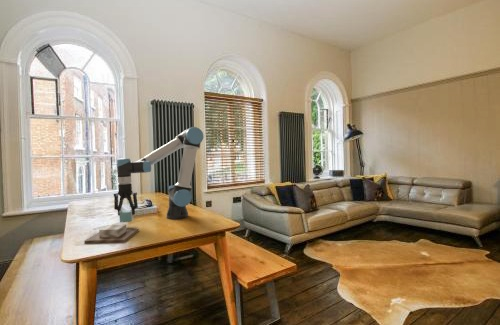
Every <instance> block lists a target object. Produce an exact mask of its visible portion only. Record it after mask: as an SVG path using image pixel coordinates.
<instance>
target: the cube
mask: <svg viewBox="0 0 500 325" xmlns="http://www.w3.org/2000/svg"><path fill="white" fill-rule="evenodd" d="M130 210H131V209H128V210H127V209H125V210H122V212H120V213H119V215H120V216H119V223H130V222H132V221H131V213H130Z"/></svg>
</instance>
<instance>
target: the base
mask: <svg viewBox="0 0 500 325" xmlns="http://www.w3.org/2000/svg"><path fill="white" fill-rule="evenodd" d="M138 232H140V230H139V228H127V224H107V225H106V226H104V227H102V228H100V229H99V232H97V233H96V234H93V235H92V236H90V237H88V238H87V239H85V240H84V241H83V242H84V245H85V244H86V245H87V244H120V243H123V244H124V243H126V242H127V241H129V240H130V238H132V237H134V236H135V235H136V234H137V233H138Z"/></svg>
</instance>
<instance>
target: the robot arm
mask: <svg viewBox="0 0 500 325" xmlns="http://www.w3.org/2000/svg"><path fill="white" fill-rule="evenodd" d="M204 137H205V135H204V132H203V130H202V129H200V128H199V127H196V126H190V127H188V128H186V129H184V130H183V131H182V132H181V133H179V134H178V135H176V136H175V137H174V138H173V139H172V140H170V141H169V142H167V143H166V144H163V145H162V146H160V147H159V148H157V149H155V150H153V151H152V152H150V153H149V154H147V155H145V156H144V157H141V158H140V159H138V160H134V161H131V158H118V159H117V160H116V169H117V173H116V174H117V183H118V188H117V189H118V191H117V192H115V193H113V197H114V205H113V207H114V208H113V209H114V210H116V211H117V215H118V216H119V217H120V215H119V213H120V212H122V211H123V209H122V207H123V203H124V199H126V200H127V202H128V203H129V207H130V209H129V210H130V213H131V222H132V221H134V220H135V216H134V215H135V214H136V209H138V208H139V205H138V199H137V198H138V197H137V196H138V192H134V191H133V187H132V174H141V173H142V174H144V173H146V174H147V173H151V172H152V166H153V165H155V164H157V163H158V162H160V161H162V160H164V159H165V158H166V157H168V156H169V155H171V154H173V153H175V152H176V151H178V150H179V149H183V152H182V153H183V154H182V157H181V163H180V168H179V173H178V178H177V182H176V183H174V185H169V186H168V208H167V212H166V218H167V219H168V220H181V218H182V219H186V218H188V217H189V212H188V209H187V206H188V205H190V203H191V201H192V198H193V197H192V189H193V187H192V186H191V182H192V177H193V171H194V167H195V161H196V156H197V151H198V150H199V149H200V148H201V143H202V142H203V140H204ZM185 217H186V218H185Z"/></svg>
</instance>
